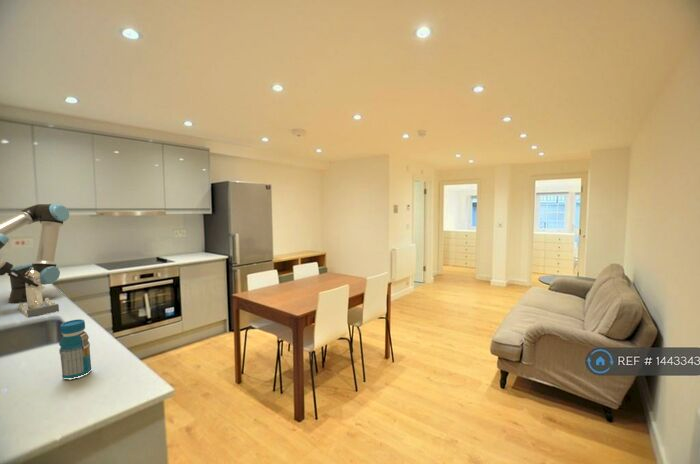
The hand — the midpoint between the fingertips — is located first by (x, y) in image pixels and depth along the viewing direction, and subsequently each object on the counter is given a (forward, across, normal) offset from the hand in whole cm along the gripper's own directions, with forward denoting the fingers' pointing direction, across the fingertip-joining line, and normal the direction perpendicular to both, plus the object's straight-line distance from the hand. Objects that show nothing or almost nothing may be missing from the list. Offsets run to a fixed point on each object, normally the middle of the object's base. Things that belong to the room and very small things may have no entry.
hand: (41, 288), depth 196 cm
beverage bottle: (-1, +120, -17) cm, 121 cm away
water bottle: (+6, 0, -11) cm, 12 cm away
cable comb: (+6, +7, -11) cm, 14 cm away
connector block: (+6, +20, -11) cm, 23 cm away
